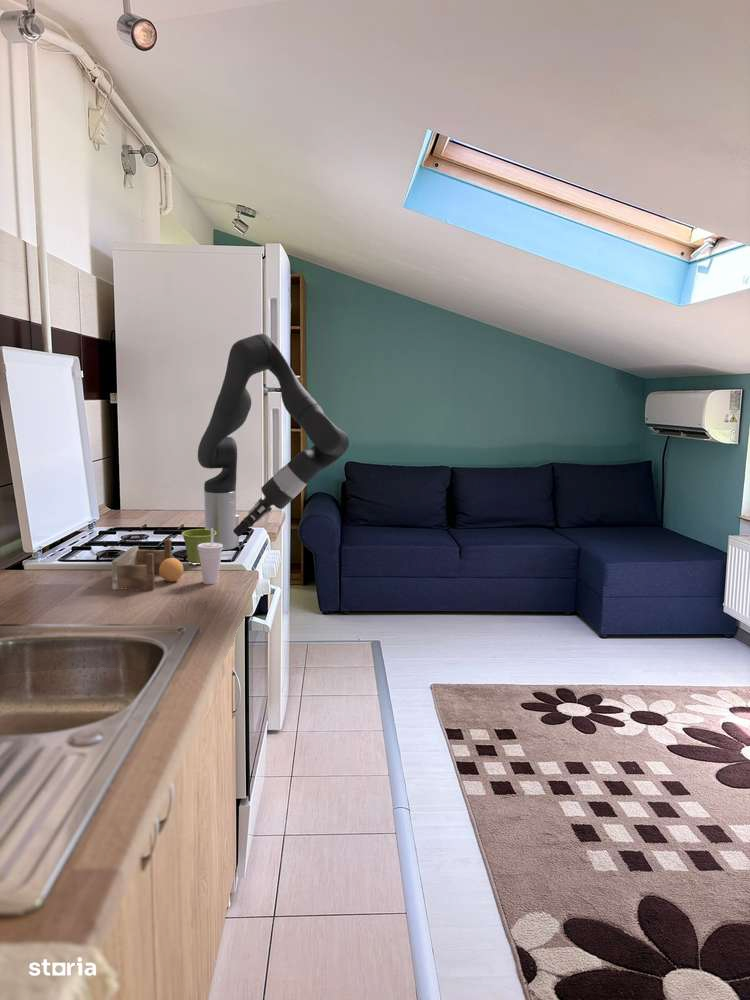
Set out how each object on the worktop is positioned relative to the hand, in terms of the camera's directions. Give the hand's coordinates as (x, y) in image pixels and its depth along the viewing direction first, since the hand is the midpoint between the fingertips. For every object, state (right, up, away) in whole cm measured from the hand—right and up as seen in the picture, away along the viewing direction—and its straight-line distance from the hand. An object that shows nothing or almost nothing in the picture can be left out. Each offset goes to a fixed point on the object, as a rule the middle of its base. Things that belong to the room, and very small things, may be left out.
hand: (239, 530), depth 204 cm
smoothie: (-8, -14, +2) cm, 16 cm away
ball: (-18, -10, +2) cm, 20 cm away
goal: (-25, -13, +3) cm, 28 cm away
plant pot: (-15, -10, +21) cm, 28 cm away
